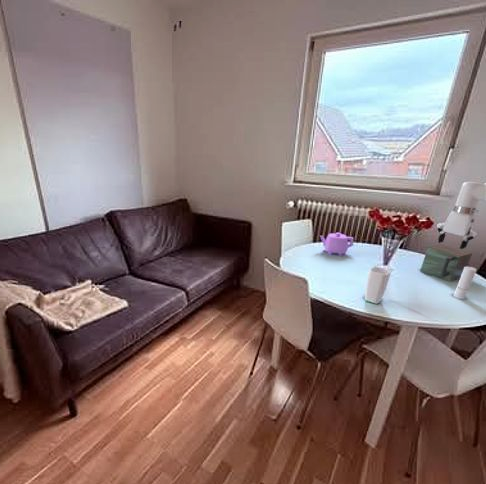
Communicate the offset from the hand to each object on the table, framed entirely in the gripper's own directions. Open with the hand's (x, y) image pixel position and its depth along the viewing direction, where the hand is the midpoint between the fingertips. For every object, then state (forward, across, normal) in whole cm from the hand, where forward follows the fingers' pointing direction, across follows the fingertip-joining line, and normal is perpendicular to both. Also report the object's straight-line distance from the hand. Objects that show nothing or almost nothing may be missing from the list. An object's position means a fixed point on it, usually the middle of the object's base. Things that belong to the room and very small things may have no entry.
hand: (451, 245), depth 149 cm
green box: (+20, +4, -3) cm, 20 cm away
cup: (+20, +2, +47) cm, 51 cm away
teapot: (+20, +54, +14) cm, 60 cm away
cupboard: (+20, +4, -12) cm, 23 cm away
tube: (+20, -14, +9) cm, 26 cm away
